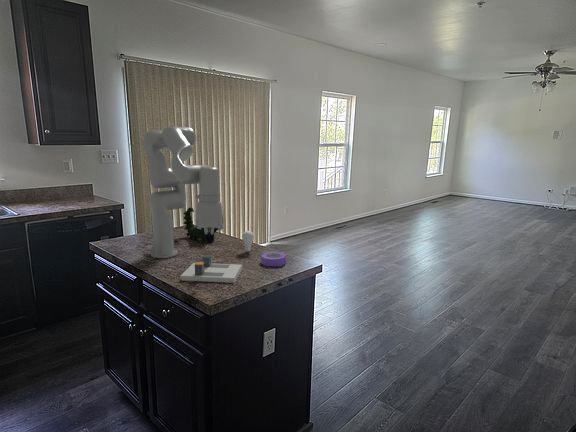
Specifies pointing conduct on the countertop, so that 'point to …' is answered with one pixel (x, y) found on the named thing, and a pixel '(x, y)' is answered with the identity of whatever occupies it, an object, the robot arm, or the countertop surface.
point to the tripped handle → (199, 268)
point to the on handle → (206, 260)
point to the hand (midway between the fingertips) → (210, 243)
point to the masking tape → (273, 259)
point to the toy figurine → (192, 230)
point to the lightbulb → (247, 239)
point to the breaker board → (213, 273)
